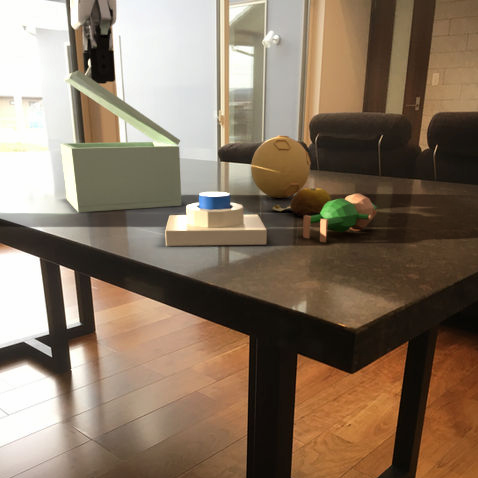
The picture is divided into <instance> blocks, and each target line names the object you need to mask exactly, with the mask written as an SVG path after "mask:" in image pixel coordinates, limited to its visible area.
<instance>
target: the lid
mask: <svg viewBox="0 0 478 478" xmlns="http://www.w3.org/2000/svg"><path fill="white" fill-rule="evenodd" d="M88 65H89V68H88V70H87V72H86V74H84V72H82V71H81V70H79V69H78V70H76V71H74V72H71V73H68V74H66V75H65V77H64V79H63V81H64V82H66V83H67V84H69V85H70V86H72V87H73V88H75V89H76V90H77V91H79V92H81V93H82V94H83V95H85V96H86V97H88V98H90V99H91V100H93V101H94V102H96V103H97V104H99V105H100V106H102V108H105V109H106V110H108V111H109V112H111V113H112V114H113V115H115V116H117V117H118V118H120V119H121V120H122V121H124V122H125V123H127V124H129V125H130V126H132V127H133V128H135V129H136V130H137V131H139V132H141V133H142V134H143V135H145V136H146V137H148V138H149V139H151V140H153V142H160V143H165V144H171V145H176V146H179V144H180V143H181V139H179V138H178V137H176V136H175V135H174V134H172V133H170V132H169V131H168V130H166V129H165V128H163V127H162V126H160V125H159V124H157V123H156V122H155V121H153V120H151V119H150V118H149V117H147V116H146V115H145V114H143V113H142V112H140V111H139V110H137V109H136V108H134V107H133V106H131V105H130V104H129V103H127V102H126V101H124V100H123V99H122V98H120V97H119V96H117V95H115V94H114V93H113V92H112V91H110V90H108V89H107V88H105V87H104V86H102V84H99V83H97V82H95V81H94V80H92V78H91V65H90V59H89V61H88Z"/></svg>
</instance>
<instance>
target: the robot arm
mask: <svg viewBox="0 0 478 478" xmlns="http://www.w3.org/2000/svg"><path fill="white" fill-rule="evenodd" d="M69 2H70V3H69V5H70V8H69V9H70V25H71V27H72V28H73V30H77V31H78V29H80V28H82V29H81V32H82V34H81V35H82V63H83V73H84V74H86V72H87V70H88V68H89V65H88V61H89V59H90V65H91V78H92V80H94V81H95V82H97V83H98V84H100V85H104V84H107V82H108V83H113V82H115V81H116V71H115V69H116V68H115V54H114V53H115V52H114V41H113V34H112V26H113V25H115V24H116V21H117V0H69Z"/></svg>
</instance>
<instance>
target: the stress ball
mask: <svg viewBox="0 0 478 478" xmlns="http://www.w3.org/2000/svg"><path fill="white" fill-rule="evenodd" d="M311 161H312V160H311V157H310V154H309V152H308V151H307V150H306V149H305V148H304V146H303V145H302V144H301V142H298V141H297V140H295V139H293V138H291V137H290V136H288V135H277V136H276V137H272V138H270V139H267V140H265V141H263V142H262V143H261V144H260V145H259V147H257V149H256V150H255V152H254V154H253V156H252V159H251V163H250V172H251V177H252V180H253V183H254V184H255V186H256V187H257V188H258V190H259V191H261V192H262V193H263V194H265V195H266V196H269V197H271V198H275V199H284V198H289V197H292V196H295V195H296V194H297V193H298V192H299V191H300V190H302V189H303V187H304V186H305V184H306V183H307V181H308V179H309V176H310V172H311V165H312V162H311Z"/></svg>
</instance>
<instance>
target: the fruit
mask: <svg viewBox="0 0 478 478" xmlns="http://www.w3.org/2000/svg"><path fill="white" fill-rule="evenodd" d="M329 201H332V198H331V195H330V193H329V192H328V191H327V190H326V189H324V188H322V187H321V188H320V187H317V188H309V187H305V188H301V189H300V190H299V191H298V192H297V193H295V194H294V195H293V198H292V199H291V200H290V203H289V206H287V207H285V208H283V207H281V205H280V204H276V205H275V206H273V207H272V210H274V211H277V212H283V211H286V210H288V209H291V211H292V213H293V214H295V215H296V216H297V217H299V218H304V216H305V215H307V216H313V215H317V214H320V212H321V210H322V209H323V207H324V205H325V204H326V203H327V202H329Z"/></svg>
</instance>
